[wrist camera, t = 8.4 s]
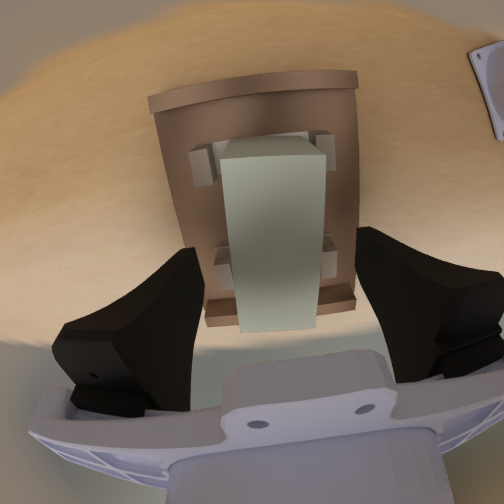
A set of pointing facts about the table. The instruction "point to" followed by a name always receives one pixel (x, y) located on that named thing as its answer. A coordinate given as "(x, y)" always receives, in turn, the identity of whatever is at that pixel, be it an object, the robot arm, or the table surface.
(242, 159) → the tapered sage green block
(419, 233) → the table surface
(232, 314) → the brown wooden holder
